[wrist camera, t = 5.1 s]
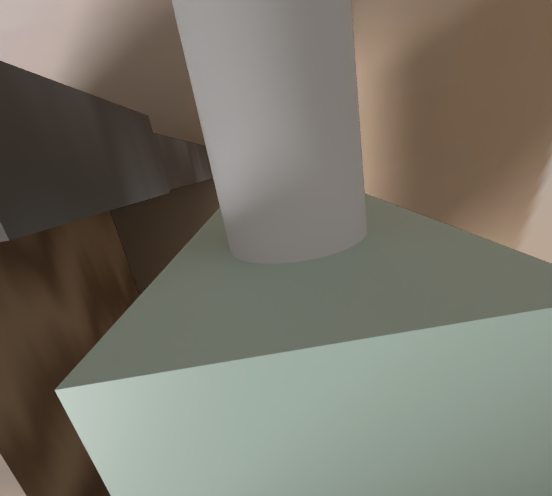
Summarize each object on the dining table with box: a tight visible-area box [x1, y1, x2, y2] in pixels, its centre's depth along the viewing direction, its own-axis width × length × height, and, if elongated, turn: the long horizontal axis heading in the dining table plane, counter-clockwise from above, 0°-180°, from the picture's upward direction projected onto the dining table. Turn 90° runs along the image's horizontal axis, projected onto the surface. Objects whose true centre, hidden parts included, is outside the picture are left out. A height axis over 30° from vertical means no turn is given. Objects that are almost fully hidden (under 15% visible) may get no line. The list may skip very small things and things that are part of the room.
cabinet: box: [0, 61, 213, 496], centre depth 14 cm, size 22×14×17 cm, turn 10°
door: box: [55, 0, 552, 496], centre depth 8 cm, size 19×4×10 cm, turn 10°
